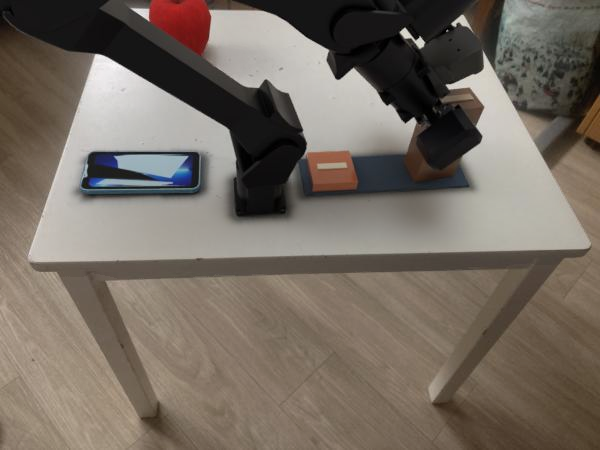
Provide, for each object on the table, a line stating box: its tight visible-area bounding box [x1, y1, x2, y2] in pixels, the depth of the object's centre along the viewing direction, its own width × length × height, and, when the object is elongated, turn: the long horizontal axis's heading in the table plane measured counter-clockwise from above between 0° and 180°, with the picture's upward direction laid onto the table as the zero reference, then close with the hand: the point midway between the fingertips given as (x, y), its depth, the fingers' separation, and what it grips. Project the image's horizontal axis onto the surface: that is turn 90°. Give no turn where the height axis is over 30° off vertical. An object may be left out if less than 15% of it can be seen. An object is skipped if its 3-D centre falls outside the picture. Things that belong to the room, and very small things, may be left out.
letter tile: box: [305, 150, 358, 192], centre depth 66 cm, size 6×6×2 cm
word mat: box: [298, 153, 470, 197], centre depth 68 cm, size 23×7×1 cm, turn 98°
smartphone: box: [79, 150, 203, 195], centre depth 64 cm, size 7×1×15 cm
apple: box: [148, 0, 212, 57], centre depth 78 cm, size 10×10×11 cm
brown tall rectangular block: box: [404, 86, 485, 182], centre depth 64 cm, size 6×4×12 cm, turn 105°
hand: (451, 132), depth 63 cm, fingers closed on brown tall rectangular block, 4 cm apart
